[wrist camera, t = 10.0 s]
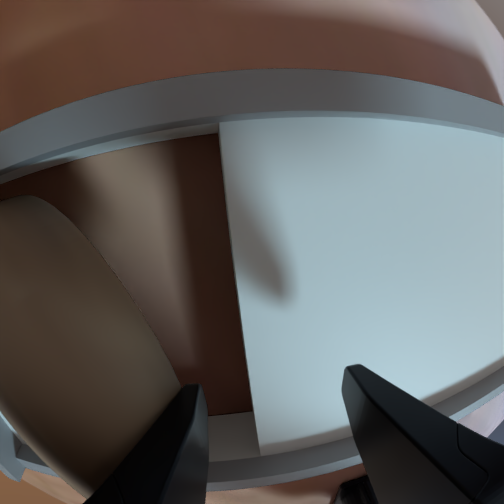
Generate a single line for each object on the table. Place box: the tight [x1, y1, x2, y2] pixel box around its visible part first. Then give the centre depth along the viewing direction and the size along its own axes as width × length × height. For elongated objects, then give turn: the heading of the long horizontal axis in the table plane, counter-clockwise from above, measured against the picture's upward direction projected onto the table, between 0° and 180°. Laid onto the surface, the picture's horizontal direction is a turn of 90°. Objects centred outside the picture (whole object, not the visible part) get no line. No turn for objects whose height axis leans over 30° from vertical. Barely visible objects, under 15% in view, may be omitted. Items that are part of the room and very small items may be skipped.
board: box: [0, 68, 504, 492], centre depth 9 cm, size 15×31×5 cm, turn 95°
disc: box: [0, 195, 182, 499], centre depth 7 cm, size 11×11×4 cm
